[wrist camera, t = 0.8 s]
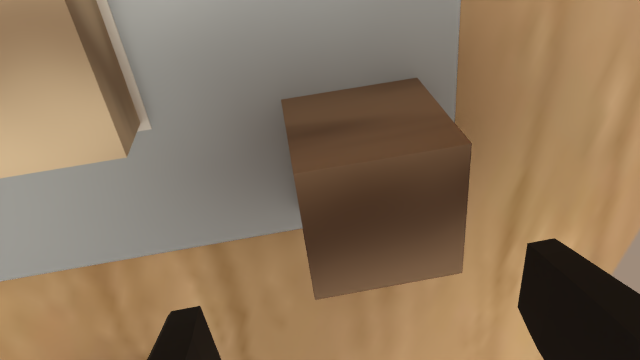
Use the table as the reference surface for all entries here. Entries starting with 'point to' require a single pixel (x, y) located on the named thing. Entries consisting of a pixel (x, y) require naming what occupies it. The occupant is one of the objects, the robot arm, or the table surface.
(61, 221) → the build plate
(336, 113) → the walnut cube
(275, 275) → the table surface
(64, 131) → the oak base block
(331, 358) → the table surface
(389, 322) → the table surface
